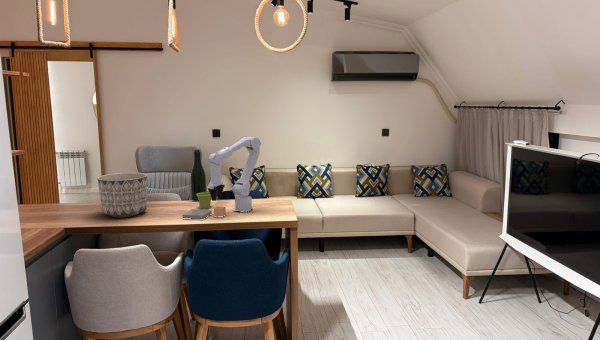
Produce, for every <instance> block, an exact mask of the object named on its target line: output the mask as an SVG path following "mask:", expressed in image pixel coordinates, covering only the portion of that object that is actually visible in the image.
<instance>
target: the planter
mask: <svg viewBox="0 0 600 340" xmlns="http://www.w3.org/2000/svg"><path fill="white" fill-rule="evenodd" d="M97 185H98V191H99V198H100V199H99V200H100V206H101V210H102V213H103V214H104V215H107V216H111V217H112V218H130V217H135V216H137V215H139V214H140V213H142V212H143V213H144V211H146V210H147V208H148V174H146V173H143V172H116V173H107V174H104V175H100V176H98V177H97Z"/></svg>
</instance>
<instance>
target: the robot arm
mask: <svg viewBox="0 0 600 340" xmlns="http://www.w3.org/2000/svg"><path fill="white" fill-rule="evenodd" d="M261 145H262V142H261V140H260V138H259V137H256V136H247V135H246V136H244V137H242V138H241V139H239V140H238V141H237V142H235V143H234V144H232V145H231V146H223V147H222V149H219V150H217V151H215V153H211V154H209V156H208V158H207V161H208V162H209V165H210V182H209V187H207V192H210V195H211V202H212V201H214V202H216V201H217V199H221V198H222V196H223V191H224V188H225V186H226V184H224V180H222V163H223V162H224V161H225V160H226V159H228V158H229V157H232V155H233V153H234V152H236V151H237V150H240V149H241V148H246V150H247V151H248V153H249V155H248V156H247V160H246V162H245V164H244V167H243V170H242V173H241V175H240V178H238V179H237V180H236V182H235V183H234V185H233V186H232V193H233V194H234V206H235V207H234V210H236V211H250V210H251V209H252V210H253V202H252V201H253V199H252V196H250V192H251V191H250V190H251V189H250V188H251V186H252V185H251V184H250V180H251V177H252V175H253V172H254V170H255V167H256V164H257V162H258V159H259V156H260V153H261V150H260V149H261ZM252 210H251V211H252ZM251 211H250V212H251Z"/></svg>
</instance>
